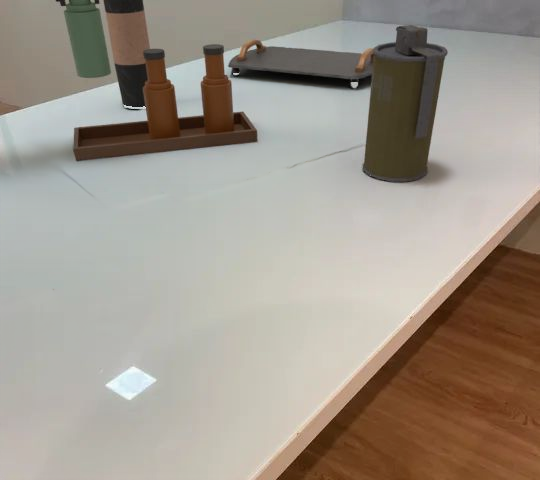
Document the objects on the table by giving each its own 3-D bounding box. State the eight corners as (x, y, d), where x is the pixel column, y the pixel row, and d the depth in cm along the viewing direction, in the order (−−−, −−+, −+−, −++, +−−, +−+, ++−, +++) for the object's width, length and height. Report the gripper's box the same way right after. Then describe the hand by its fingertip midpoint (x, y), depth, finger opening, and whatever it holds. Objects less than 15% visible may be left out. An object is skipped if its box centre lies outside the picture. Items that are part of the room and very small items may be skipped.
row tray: (76, 164, 95) (73, 149, 93) (77, 142, 103) (74, 127, 102) (257, 145, 100) (257, 130, 99) (244, 125, 109) (243, 111, 107)
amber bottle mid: (159, 147, 98) (146, 56, 89) (145, 139, 102) (131, 50, 92) (186, 140, 101) (175, 51, 92) (171, 133, 104) (160, 45, 95)
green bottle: (85, 80, 89) (61, -31, 79) (72, 73, 92) (48, -34, 83) (116, 74, 91) (97, -34, 82) (103, 68, 94) (83, -37, 85)
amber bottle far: (215, 141, 100) (207, 51, 91) (199, 133, 104) (191, 46, 94) (240, 135, 103) (235, 46, 93) (224, 127, 106) (218, 41, 97)
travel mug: (126, 112, 117) (106, -1, 104) (118, 103, 122) (98, -6, 109) (162, 107, 119) (146, -4, 106) (152, 98, 124) (137, -9, 111)
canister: (350, 163, 92) (361, 24, 80) (404, 154, 95) (423, 18, 82) (384, 188, 85) (402, 38, 72) (442, 176, 88) (469, 31, 75)
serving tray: (217, 76, 138) (215, 48, 134) (258, 56, 154) (258, 30, 150) (367, 92, 125) (369, 61, 121) (396, 68, 140) (399, 40, 136)
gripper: (103, -146, 78) (126, -2, 89) (-4, -144, 76) (33, 3, 87) (105, -149, 73) (128, 5, 84) (-11, -148, 70) (29, 11, 81)
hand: (80, 3), depth 85 cm, fingers closed on green bottle, 4 cm apart
